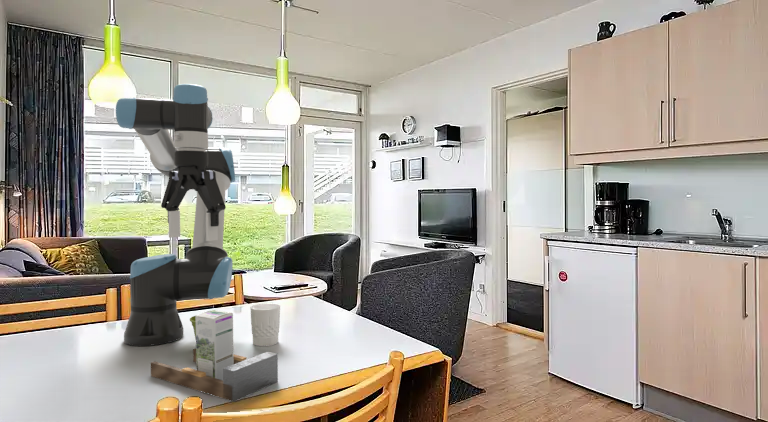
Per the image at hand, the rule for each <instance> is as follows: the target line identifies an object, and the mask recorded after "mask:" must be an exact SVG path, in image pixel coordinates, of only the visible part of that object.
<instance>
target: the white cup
mask: <svg viewBox="0 0 768 422" xmlns="http://www.w3.org/2000/svg"><path fill="white" fill-rule="evenodd" d="M249 308H250V324H251V325H250V326H251V335H252V344H253V345H254V346H256V347H270V346H274V345H277V344H278V343H279V333H280V322H281V321H280V320H281V305H280V304H277V303H273V302H272V303H258V304H254V305H251V306H250V307H249Z"/></svg>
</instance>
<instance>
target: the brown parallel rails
mask: <svg viewBox="0 0 768 422" xmlns="http://www.w3.org/2000/svg"><path fill="white" fill-rule="evenodd" d="M192 351H193V352H192V359H193V363H196V348H194V349H193V350H192ZM233 356H234V364H236V363H238V362H241V361H244V360H246V359H248V357H246V356H242V355H239V354H234V353H233ZM150 377H153V378H156V379H159V380H162V381H166V382H168V383H171V384H175V385H178V386H181V387H185V388H188V389H191V390H194V391H197V390H198V391H197V392H201V391H202V392H201V393H204V392H205V394H207V393H209V394H208V395H210V394H212V395H211V396H213V395H214V396H213V397H217V398H220V399H223V398H224V399H223V400H227V401H230V400H231V398H232V396H231V394H232V389H231V387H232V386H230V385H227V384H223V380H219V379H216V378H212V377H209V376H206V372H202V371H198V370H197V369H195V368H192V367H187V366H186V367H184V368H180V367H176V366H173V365H169V364H166V363H162V362H160V361H159V362H158V361H156V360H154V361H151V362H150ZM223 386H224V387H223ZM225 386H226V387H225ZM229 386H230V388H229ZM227 387H228V388H229V390H228V388H227ZM223 388H225V389H226V390H225V389H223ZM230 389H231V390H230ZM223 390H224V392H223ZM226 391H228V392H227V393H226ZM223 395H226V396H227V395H228V396H229V397H230V398H229V399H228V396H227V397H226V396H224V397H223ZM230 402H231V401H230Z"/></svg>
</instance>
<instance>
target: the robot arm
mask: <svg viewBox="0 0 768 422" xmlns="http://www.w3.org/2000/svg"><path fill="white" fill-rule="evenodd" d="M208 101H209V98H208V91H207V88H206V87H205V86H203V85H199V84H195V83H193V84H192V83H180V84H177V85H175V86H174V87H173V97H172V99H159V98H158V99H157V98H140V97H139V98H138V97H127V98H126V97H122V98H119V99H118V100H117V101H116V104H115V118H116V122H117V124H118V126H119V127H121V128H123V129H129V130H133V129H134V131H135V133H136V134H137V135H138V137H139V139H140V140H141V142H142V144H144V147H145V148H146V150H147V151H148V152H149V154H150V155H149V160H150V162H151V164H152V166H154V168H155V170H157V171H158V172H159V173H161V174H162V175H165V176H166V177H168V181H167V185H166V188H165V192H164V194H163V198H162V201H161V204H160V206H161V208H162V209H163V208H164V209H165V210H166V211H167V223H168V238H179V237H181V211H180V208H179V207H180V205H181V204H182V201H183V199H184V198H185V196H186V195H187V193H188V191H190V190H194V191H195V192H196V201H195V213H194V224H193V234H192V235H193V237H192V238H193V239H192V246H191V248H190V249H188V250H187V251H186V255H185V258H177V257H178V256H177V255H176V254H175V253H165V254H157V255H152V256H147V257H142V258H139V259H138V258H137V259H136V260H134V261H132V263H131V265H130V275H129V282H130V283H129V284H130V285H129V288H130V289H129V290H130V291H129V293H130V314H129V318H128V320H127V324H126V326H125V331H124V334H123V343H124V344H126V345H128V346H132V347H133V346H135V347H137V346H138V347H145V346H146V347H147V346H148V347H149V346H158V345H163V344H167V343H168V344H169V343H172V342H175V341H178V340H180V339H181V338H182V337H184V325H183V323H182V319H181V317H180V315H179V311H178V309H177V307H178V306H177V301H185V300H186V301H188V300H213V299H219V298H224V297H225V296H227V295H228V293H229V291H230V288H231V283H232V275H233V266H234V265H233V259H232V257H229V256H228V252H227V250H225V248H224V227H225V226H224V225H225V210H226V208H227V207H226V191H227V190H229V188H230V187H231V183H235V182H236V174H235V165H234V163H235V162H234V158H233V157H234V156H233V151H232V150H231V149H230V148H228V147H220V146H217V147H209V133H208V132H209V131H208V129H210V127H211V126H212V124H213V118H214V117H213V112H212V110H211V108H210V107H209V106H208V104H209V103H208ZM170 131H173V132H174V139H173V137H172V135H171V133H170Z"/></svg>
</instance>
